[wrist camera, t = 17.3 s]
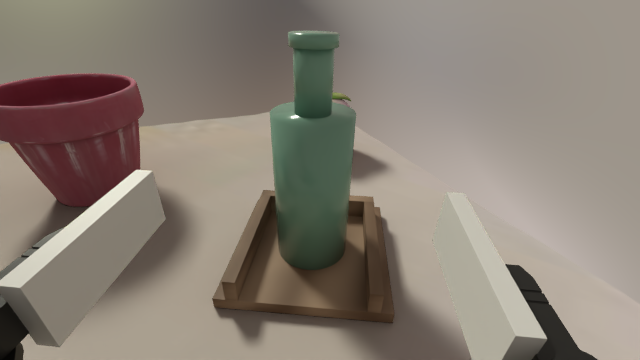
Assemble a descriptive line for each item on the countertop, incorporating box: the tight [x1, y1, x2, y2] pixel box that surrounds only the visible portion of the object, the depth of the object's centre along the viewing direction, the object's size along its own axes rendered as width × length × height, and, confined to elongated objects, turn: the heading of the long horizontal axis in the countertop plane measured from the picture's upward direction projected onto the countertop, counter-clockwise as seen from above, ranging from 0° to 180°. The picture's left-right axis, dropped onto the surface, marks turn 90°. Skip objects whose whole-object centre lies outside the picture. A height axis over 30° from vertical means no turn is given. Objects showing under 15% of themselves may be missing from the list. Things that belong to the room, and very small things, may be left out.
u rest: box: [213, 190, 394, 323], centre depth 30 cm, size 14×14×3 cm
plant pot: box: [0, 74, 144, 207], centre depth 37 cm, size 14×14×13 cm
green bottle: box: [270, 31, 356, 270], centre depth 25 cm, size 6×6×18 cm
